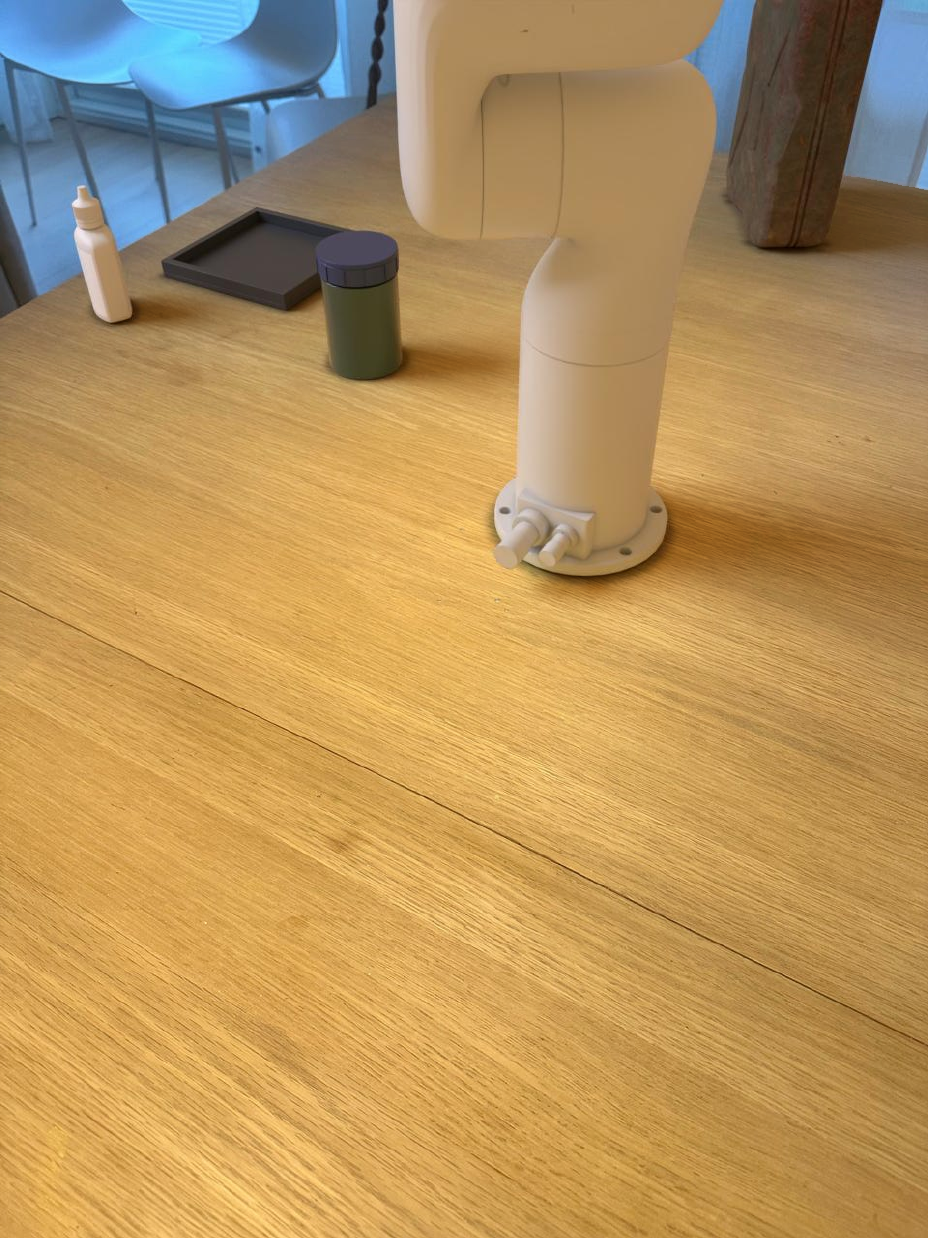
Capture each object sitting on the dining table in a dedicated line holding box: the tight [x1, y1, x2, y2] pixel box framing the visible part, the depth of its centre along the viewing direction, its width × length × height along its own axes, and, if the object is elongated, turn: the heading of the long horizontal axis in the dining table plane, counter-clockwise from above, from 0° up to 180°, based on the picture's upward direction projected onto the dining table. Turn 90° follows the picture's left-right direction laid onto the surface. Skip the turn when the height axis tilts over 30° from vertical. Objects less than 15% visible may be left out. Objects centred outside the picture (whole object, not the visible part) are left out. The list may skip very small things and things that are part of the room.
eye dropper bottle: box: [71, 184, 133, 324], centre depth 99 cm, size 4×6×12 cm
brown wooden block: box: [725, 0, 884, 248], centre depth 109 cm, size 19×8×25 cm, turn 1°
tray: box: [160, 206, 356, 311], centre depth 109 cm, size 16×16×2 cm
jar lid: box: [316, 230, 400, 287], centre depth 89 cm, size 7×7×2 cm
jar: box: [320, 271, 404, 381], centre depth 92 cm, size 7×7×10 cm
